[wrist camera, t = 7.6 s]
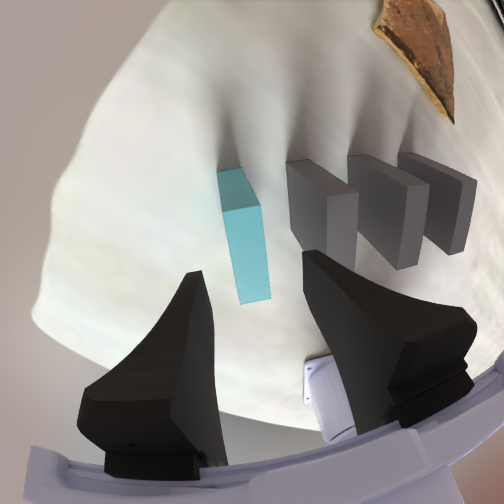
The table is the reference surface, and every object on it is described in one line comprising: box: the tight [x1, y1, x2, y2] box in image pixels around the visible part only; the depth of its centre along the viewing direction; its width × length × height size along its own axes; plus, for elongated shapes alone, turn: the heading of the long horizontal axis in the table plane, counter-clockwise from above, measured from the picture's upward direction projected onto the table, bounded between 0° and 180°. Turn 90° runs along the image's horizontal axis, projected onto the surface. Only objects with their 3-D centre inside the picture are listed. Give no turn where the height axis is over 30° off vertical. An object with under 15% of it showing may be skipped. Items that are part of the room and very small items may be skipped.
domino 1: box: [217, 168, 271, 305], centre depth 16 cm, size 2×5×7 cm, turn 7°
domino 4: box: [397, 153, 477, 255], centre depth 17 cm, size 2×5×7 cm, turn 7°
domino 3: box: [347, 155, 430, 270], centre depth 16 cm, size 2×5×7 cm, turn 7°
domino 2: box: [286, 159, 359, 272], centre depth 16 cm, size 2×5×7 cm, turn 7°
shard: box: [372, 0, 455, 125], centre depth 14 cm, size 11×8×2 cm
